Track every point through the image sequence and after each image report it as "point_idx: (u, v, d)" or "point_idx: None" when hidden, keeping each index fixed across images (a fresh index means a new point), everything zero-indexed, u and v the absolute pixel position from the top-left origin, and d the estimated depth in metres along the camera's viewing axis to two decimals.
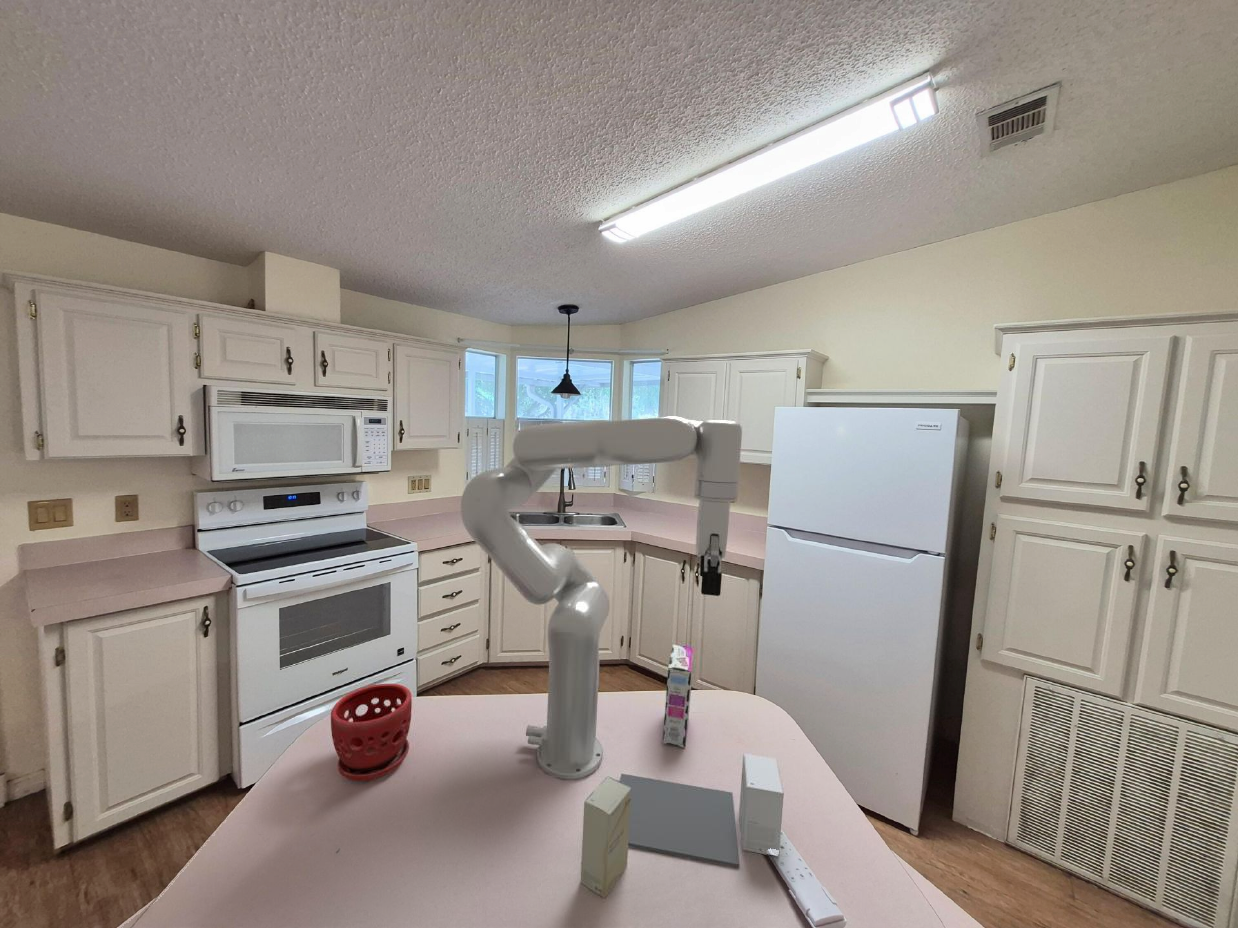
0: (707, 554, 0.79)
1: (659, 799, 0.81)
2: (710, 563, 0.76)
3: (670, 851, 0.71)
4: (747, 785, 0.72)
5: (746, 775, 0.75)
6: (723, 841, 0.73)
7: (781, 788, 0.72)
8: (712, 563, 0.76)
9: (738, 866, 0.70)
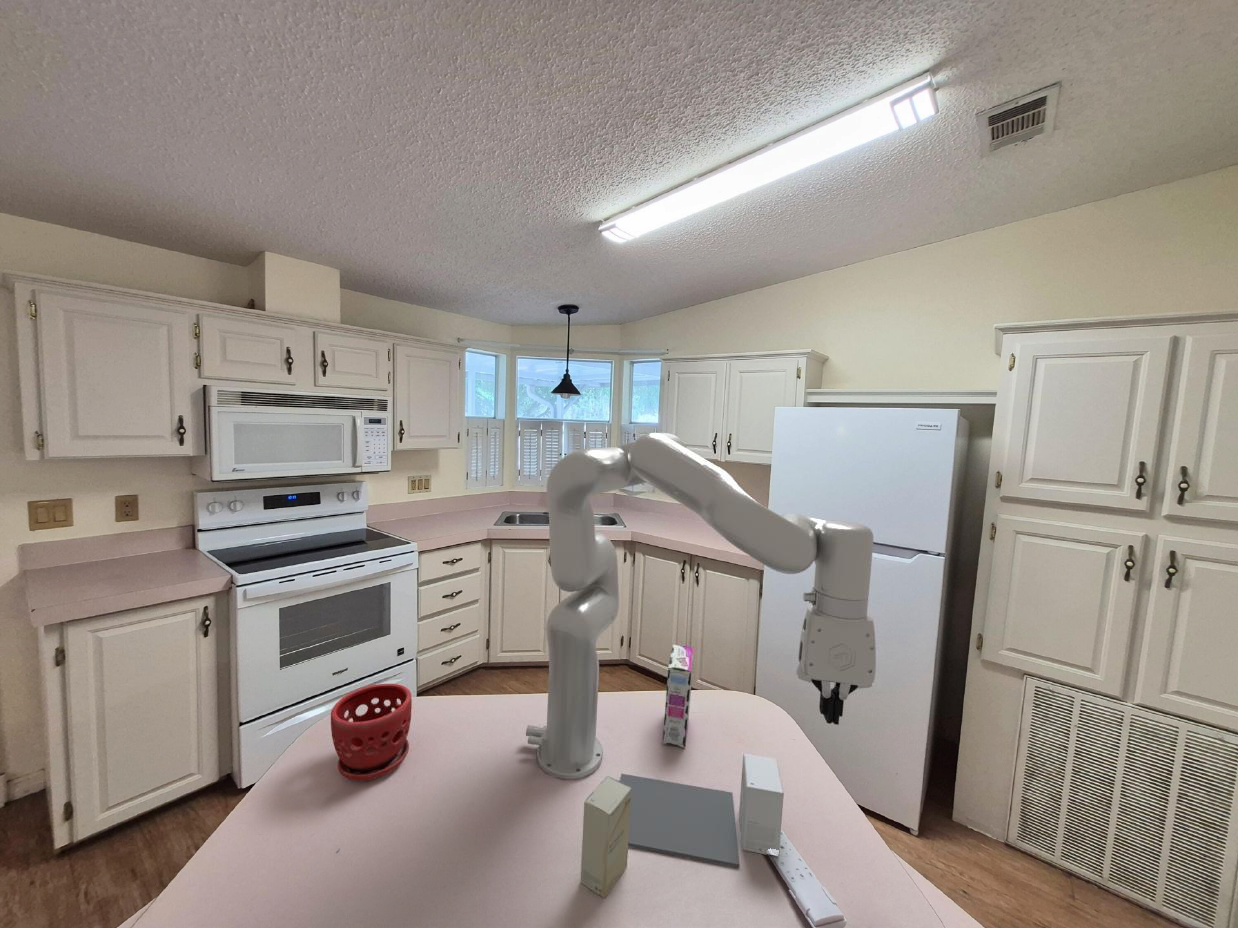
0: None
1: (659, 799, 0.81)
2: None
3: (670, 851, 0.71)
4: (747, 785, 0.72)
5: (746, 775, 0.75)
6: (723, 841, 0.73)
7: (781, 788, 0.72)
8: None
9: (738, 866, 0.70)
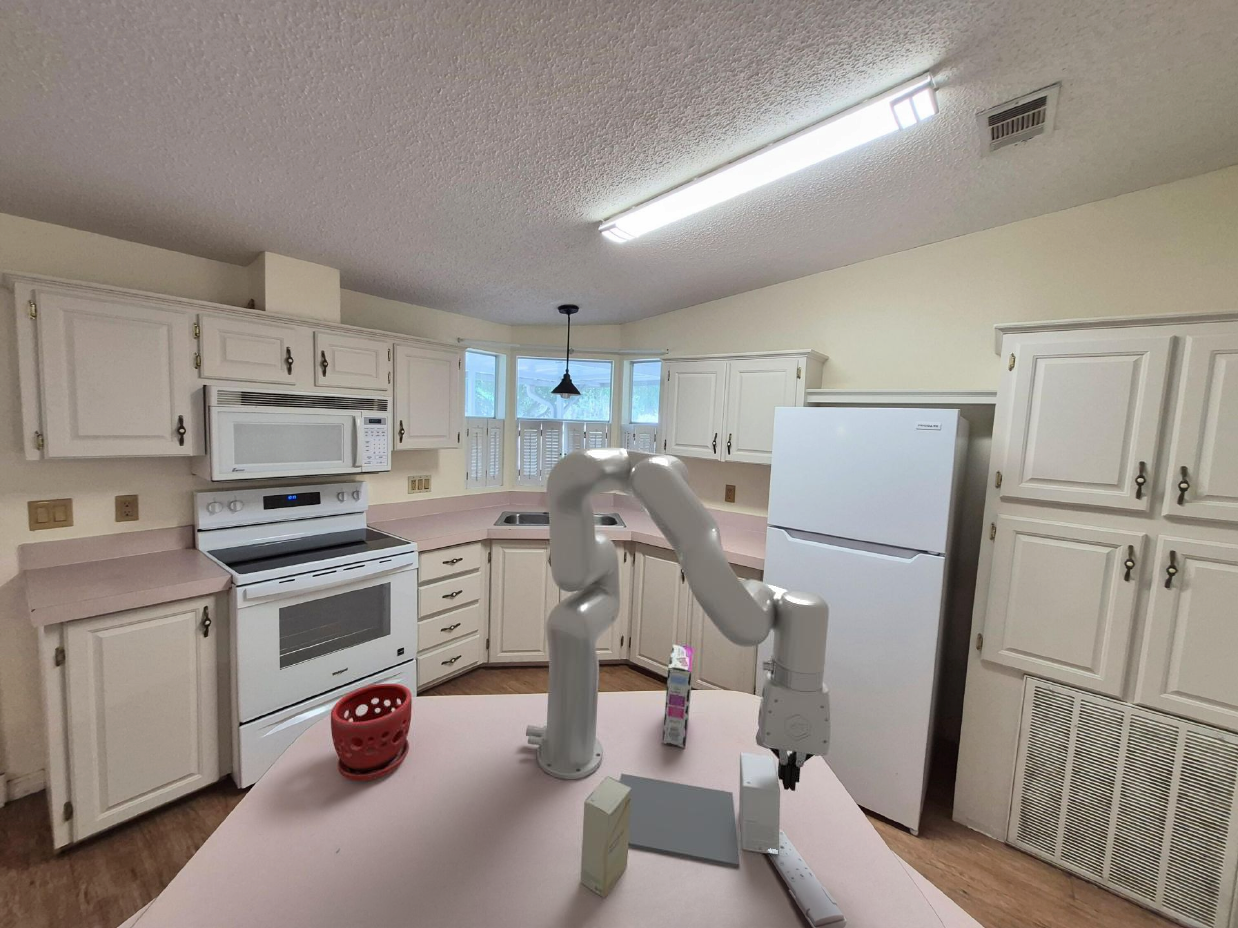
0: None
1: (659, 799, 0.81)
2: None
3: (670, 851, 0.71)
4: (743, 784, 0.72)
5: (743, 774, 0.75)
6: (723, 841, 0.73)
7: (778, 785, 0.72)
8: (812, 754, 0.74)
9: (738, 866, 0.70)
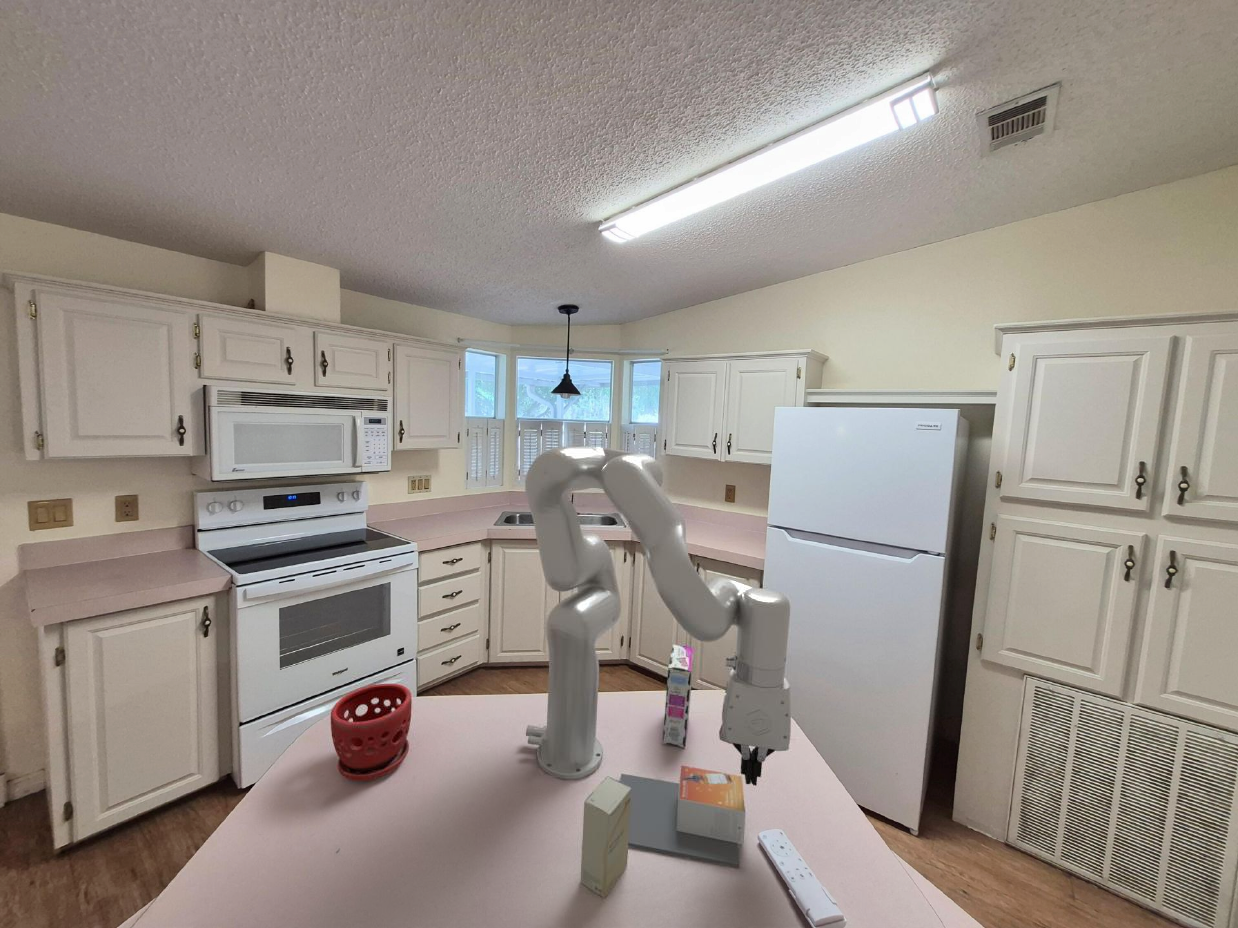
0: None
1: (659, 799, 0.81)
2: (773, 750, 0.74)
3: (670, 851, 0.71)
4: (677, 828, 0.75)
5: None
6: (723, 841, 0.73)
7: (678, 795, 0.75)
8: (774, 749, 0.74)
9: (738, 866, 0.70)
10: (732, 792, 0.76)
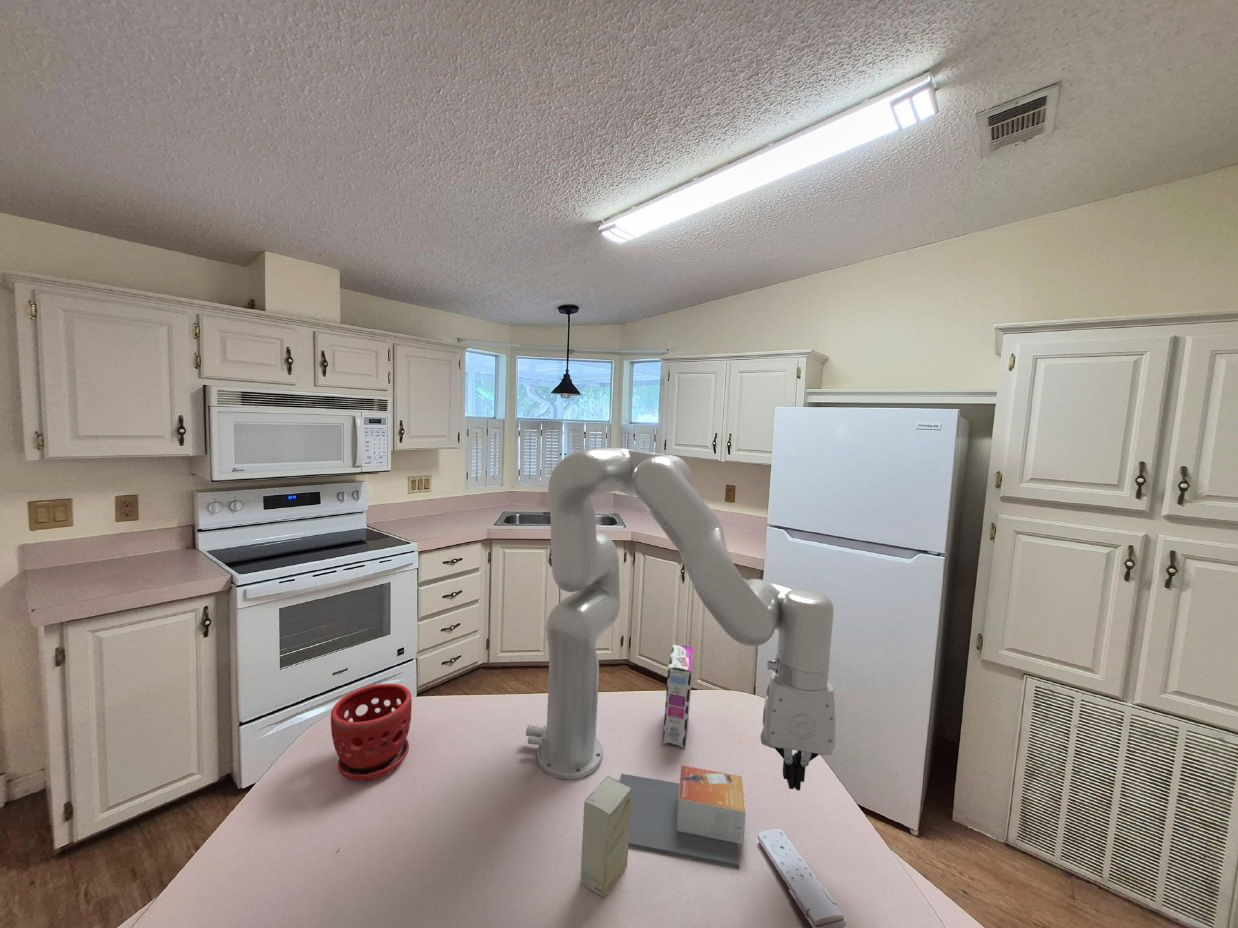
0: None
1: (659, 799, 0.81)
2: None
3: (670, 851, 0.71)
4: (677, 828, 0.75)
5: None
6: (723, 841, 0.73)
7: (678, 795, 0.75)
8: None
9: (738, 866, 0.70)
10: (732, 792, 0.76)
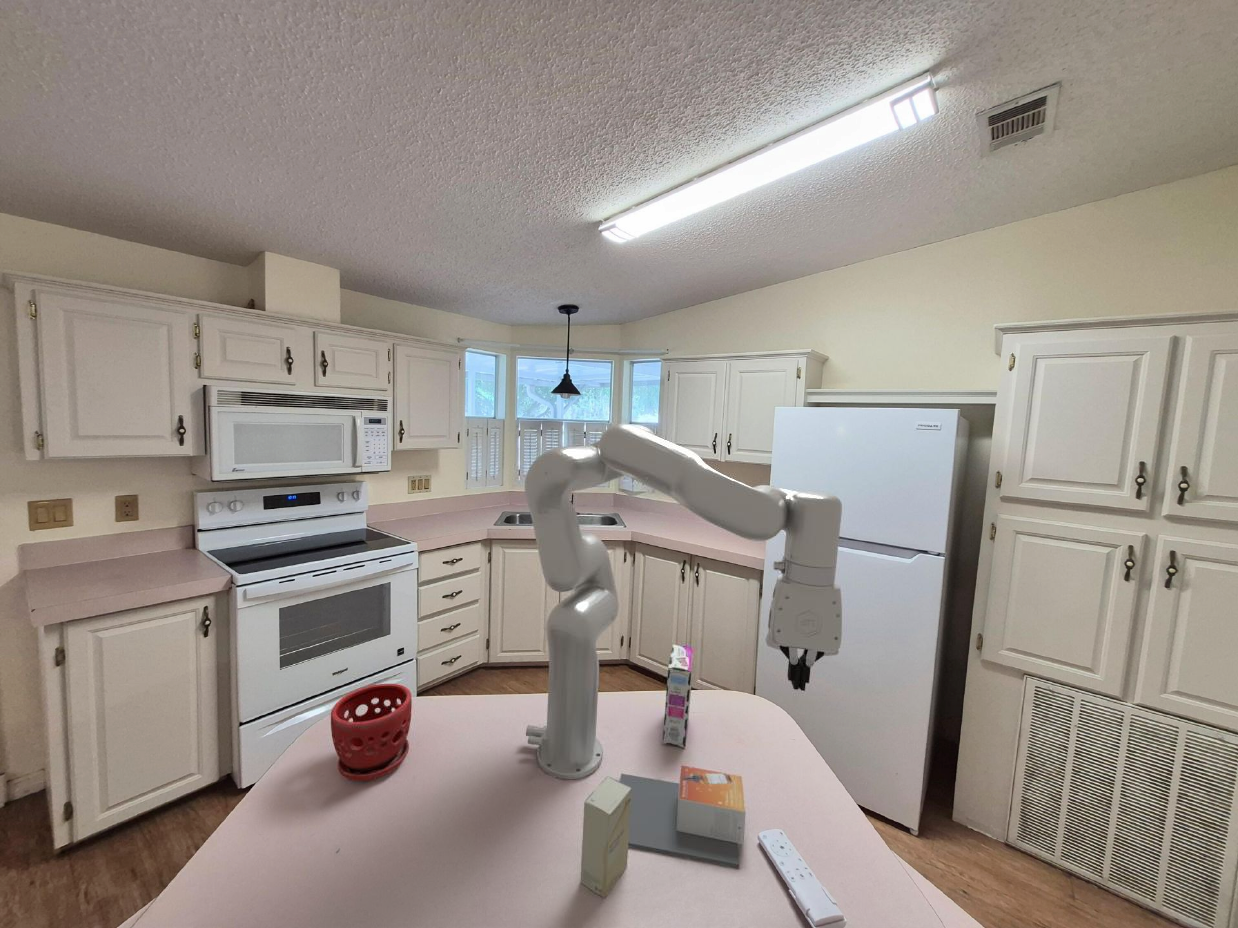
0: None
1: (659, 799, 0.81)
2: (822, 655, 0.73)
3: (670, 851, 0.71)
4: (677, 828, 0.75)
5: None
6: (723, 841, 0.73)
7: (678, 795, 0.75)
8: None
9: (738, 866, 0.70)
10: (732, 792, 0.76)
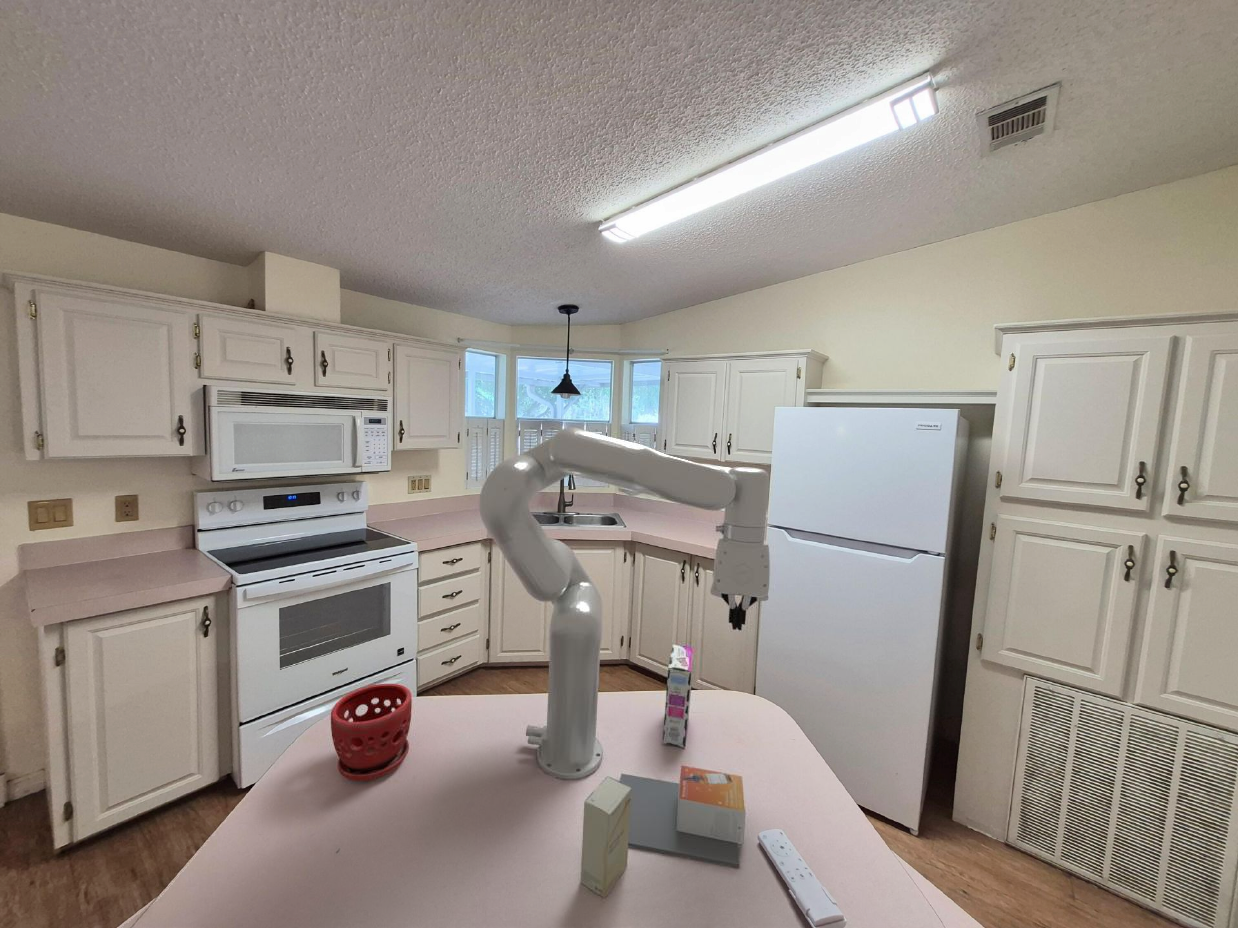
0: (750, 595, 0.88)
1: (659, 799, 0.81)
2: (755, 601, 0.89)
3: (670, 851, 0.71)
4: (677, 828, 0.75)
5: None
6: (723, 841, 0.73)
7: (678, 795, 0.75)
8: None
9: (738, 866, 0.70)
10: (732, 792, 0.76)
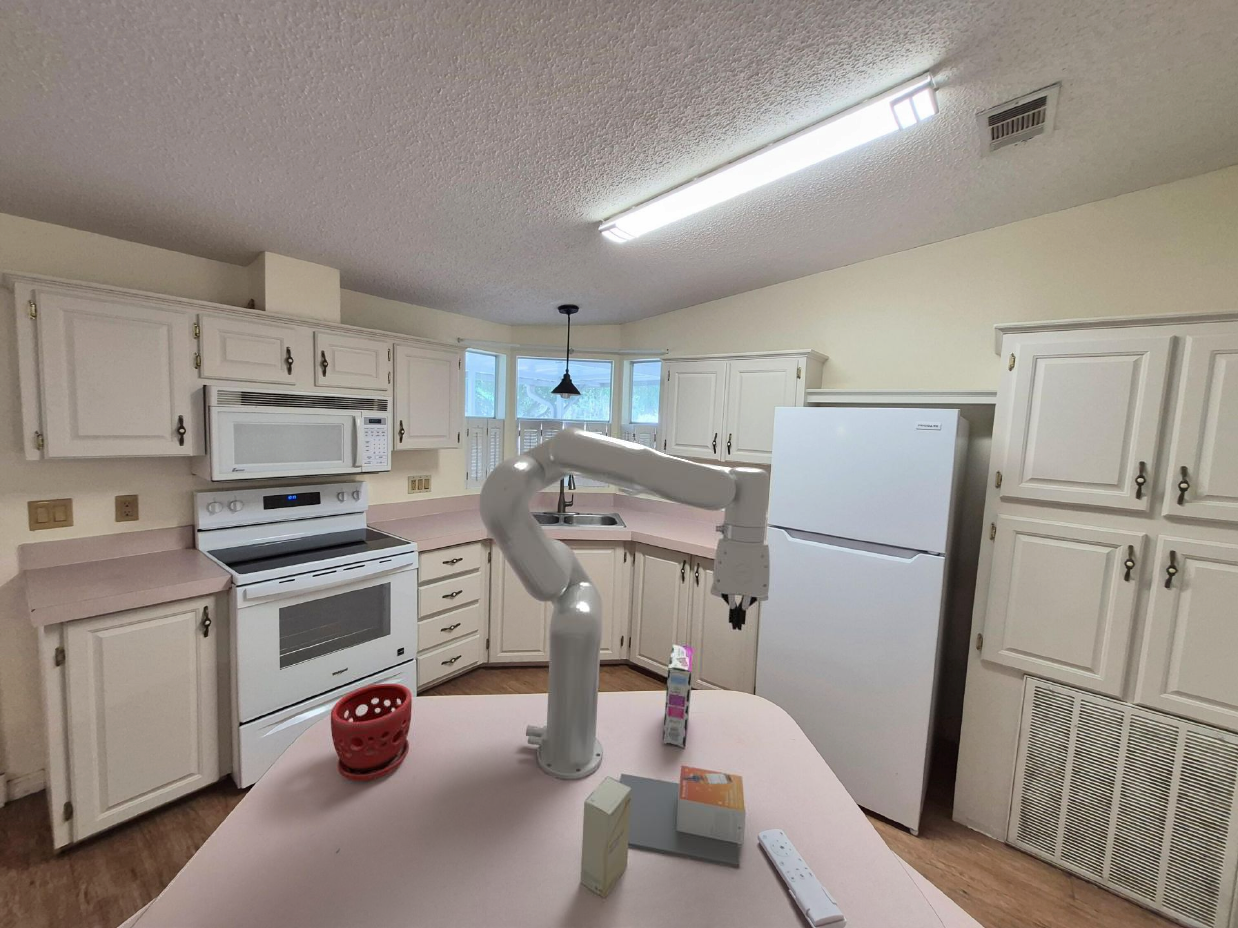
0: (750, 595, 0.88)
1: (659, 799, 0.81)
2: (755, 601, 0.89)
3: (670, 851, 0.71)
4: (677, 828, 0.75)
5: None
6: (723, 841, 0.73)
7: (678, 795, 0.75)
8: (756, 600, 0.89)
9: (738, 866, 0.70)
10: (732, 792, 0.76)
